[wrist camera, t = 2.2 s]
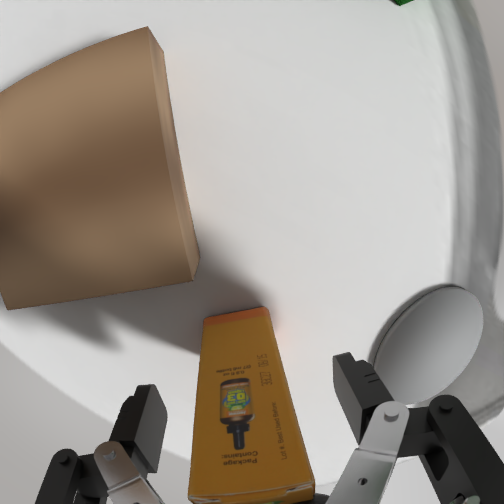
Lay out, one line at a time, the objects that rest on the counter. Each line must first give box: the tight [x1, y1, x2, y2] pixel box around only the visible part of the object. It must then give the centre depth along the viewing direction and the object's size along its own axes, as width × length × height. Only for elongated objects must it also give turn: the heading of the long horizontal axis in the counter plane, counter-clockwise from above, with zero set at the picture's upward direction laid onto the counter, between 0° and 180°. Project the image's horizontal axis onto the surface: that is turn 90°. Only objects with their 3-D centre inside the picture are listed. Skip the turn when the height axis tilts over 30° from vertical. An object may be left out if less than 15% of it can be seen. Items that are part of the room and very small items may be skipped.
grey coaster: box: [374, 287, 483, 405], centre depth 17 cm, size 9×9×1 cm
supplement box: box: [188, 307, 315, 504], centre depth 11 cm, size 3×3×10 cm
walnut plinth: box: [0, 26, 200, 310], centre depth 11 cm, size 10×10×3 cm
